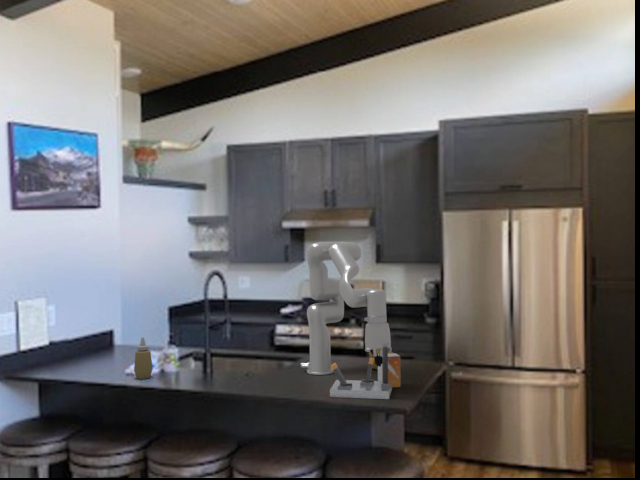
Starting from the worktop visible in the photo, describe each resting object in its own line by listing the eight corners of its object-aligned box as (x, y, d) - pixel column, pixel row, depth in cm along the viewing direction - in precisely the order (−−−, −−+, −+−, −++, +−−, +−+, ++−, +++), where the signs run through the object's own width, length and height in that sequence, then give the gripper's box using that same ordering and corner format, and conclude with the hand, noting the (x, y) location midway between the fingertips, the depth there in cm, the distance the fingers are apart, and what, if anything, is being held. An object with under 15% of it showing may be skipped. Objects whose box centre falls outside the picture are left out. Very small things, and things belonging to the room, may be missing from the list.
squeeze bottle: (156, 376, 296) (155, 337, 296) (144, 380, 289) (143, 340, 289) (142, 375, 300) (141, 335, 299) (130, 379, 292) (129, 338, 292)
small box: (382, 388, 269) (381, 356, 269) (377, 384, 275) (377, 353, 275) (401, 387, 271) (400, 355, 270) (395, 383, 277) (395, 352, 277)
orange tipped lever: (342, 386, 258) (330, 366, 258) (343, 384, 261) (331, 364, 261) (345, 384, 257) (334, 364, 258) (347, 382, 260) (335, 362, 261)
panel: (330, 397, 257) (329, 386, 257) (336, 387, 272) (336, 377, 272) (389, 399, 252) (388, 388, 252) (392, 388, 268) (391, 378, 268)
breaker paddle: (364, 381, 263) (369, 359, 262) (365, 379, 266) (370, 357, 266) (369, 382, 263) (373, 360, 262) (369, 380, 266) (374, 358, 265)
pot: (366, 371, 301) (366, 349, 300) (371, 365, 312) (370, 344, 312) (392, 372, 298) (392, 350, 298) (395, 366, 309) (395, 345, 309)
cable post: (381, 390, 254) (380, 348, 254) (382, 388, 257) (381, 346, 257) (389, 390, 254) (388, 348, 253) (389, 388, 257) (389, 346, 257)
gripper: (357, 321, 261) (359, 368, 260) (395, 321, 258) (397, 367, 258) (359, 319, 268) (361, 364, 268) (396, 318, 266) (398, 364, 265)
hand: (378, 366), depth 263 cm, fingers closed
